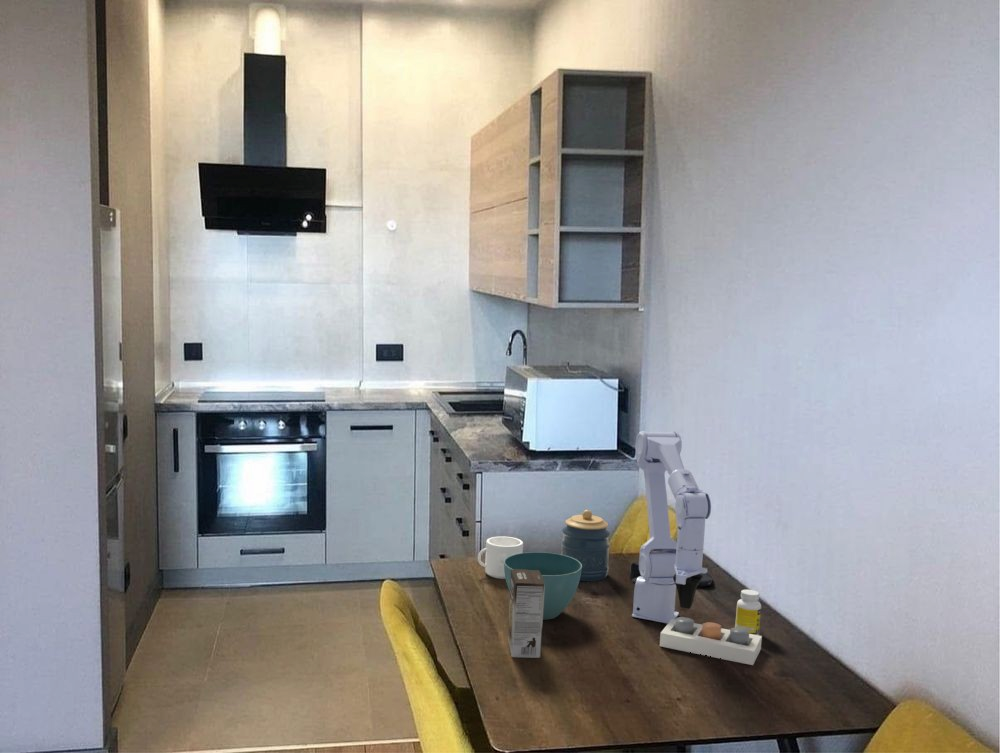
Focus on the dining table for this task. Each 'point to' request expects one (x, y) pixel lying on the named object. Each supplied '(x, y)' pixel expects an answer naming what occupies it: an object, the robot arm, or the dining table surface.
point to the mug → (499, 554)
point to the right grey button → (739, 636)
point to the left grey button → (684, 625)
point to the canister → (587, 544)
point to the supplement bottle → (748, 612)
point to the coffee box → (526, 613)
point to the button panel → (711, 644)
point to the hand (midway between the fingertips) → (685, 607)
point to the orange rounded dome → (711, 630)
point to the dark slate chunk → (635, 574)
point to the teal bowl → (549, 577)
